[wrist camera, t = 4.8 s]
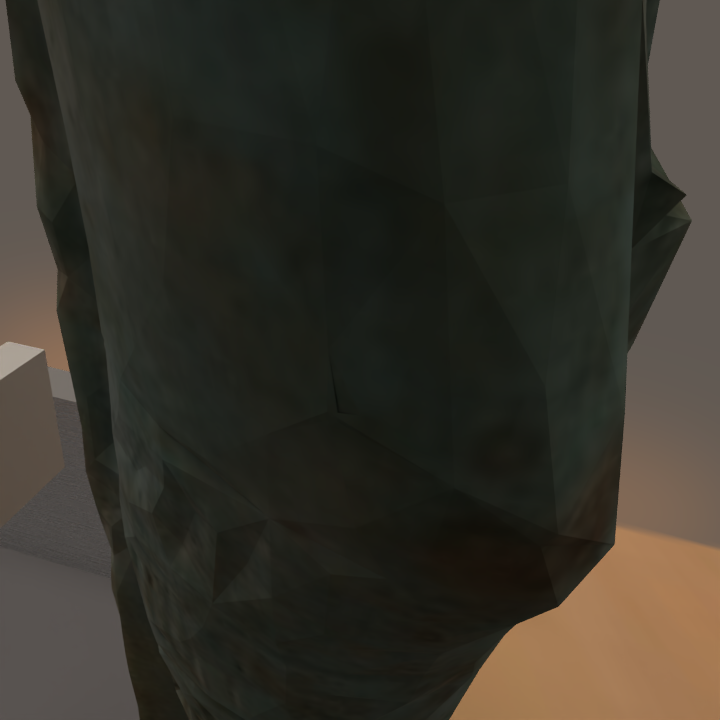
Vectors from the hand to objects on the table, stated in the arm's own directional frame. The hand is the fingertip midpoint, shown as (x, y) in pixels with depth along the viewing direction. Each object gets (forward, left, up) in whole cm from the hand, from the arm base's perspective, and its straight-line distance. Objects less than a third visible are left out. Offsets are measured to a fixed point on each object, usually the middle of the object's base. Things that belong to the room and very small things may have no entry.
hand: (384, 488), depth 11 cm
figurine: (0, +2, -14) cm, 14 cm away
